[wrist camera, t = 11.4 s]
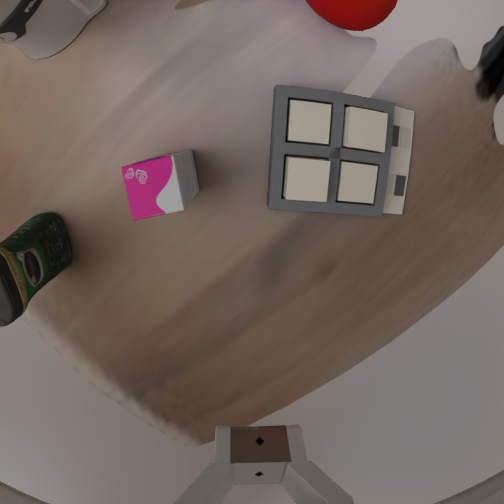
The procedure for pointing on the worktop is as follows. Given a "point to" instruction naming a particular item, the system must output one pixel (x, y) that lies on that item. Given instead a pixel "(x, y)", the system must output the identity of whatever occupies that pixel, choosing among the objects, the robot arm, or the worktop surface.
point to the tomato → (353, 12)
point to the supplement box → (161, 184)
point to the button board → (342, 153)
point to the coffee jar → (31, 262)
